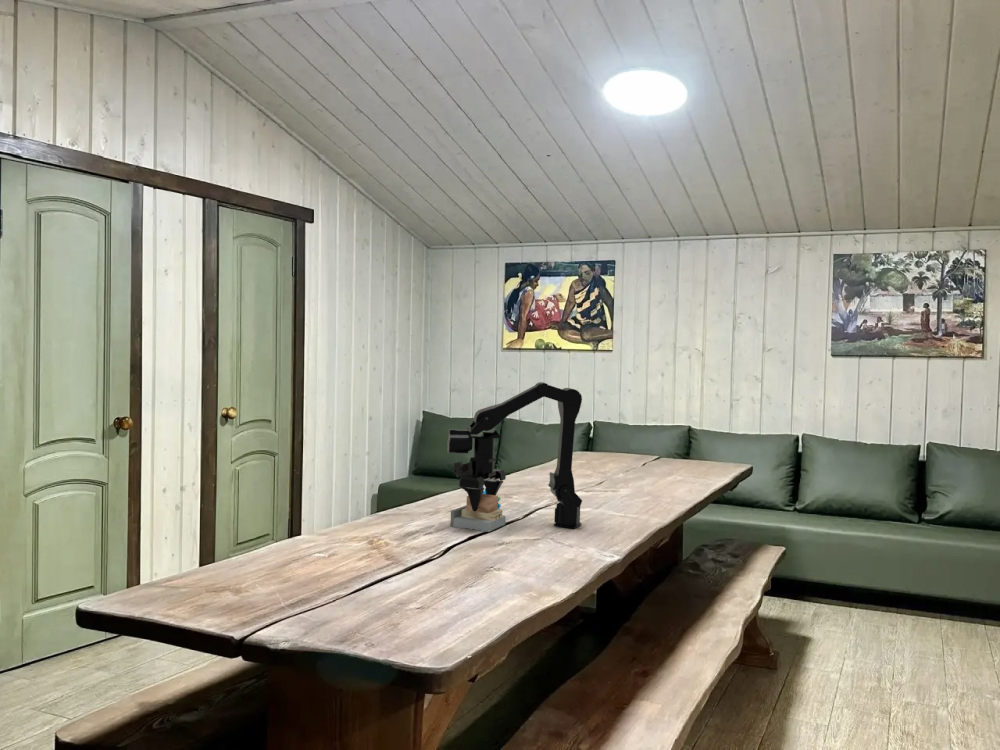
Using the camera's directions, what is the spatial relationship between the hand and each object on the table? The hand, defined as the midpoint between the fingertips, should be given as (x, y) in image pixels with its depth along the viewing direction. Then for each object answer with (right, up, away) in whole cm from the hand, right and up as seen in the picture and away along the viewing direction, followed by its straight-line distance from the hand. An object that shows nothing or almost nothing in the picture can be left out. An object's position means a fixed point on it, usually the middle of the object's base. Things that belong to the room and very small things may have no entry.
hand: (482, 508), depth 226 cm
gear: (+1, -5, +20) cm, 20 cm away
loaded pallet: (0, -3, 0) cm, 2 cm away
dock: (-1, -5, 0) cm, 5 cm away
